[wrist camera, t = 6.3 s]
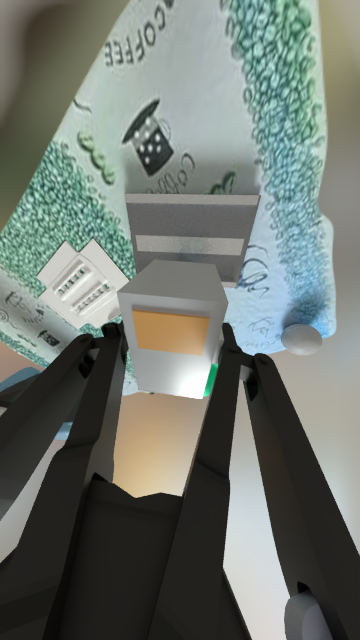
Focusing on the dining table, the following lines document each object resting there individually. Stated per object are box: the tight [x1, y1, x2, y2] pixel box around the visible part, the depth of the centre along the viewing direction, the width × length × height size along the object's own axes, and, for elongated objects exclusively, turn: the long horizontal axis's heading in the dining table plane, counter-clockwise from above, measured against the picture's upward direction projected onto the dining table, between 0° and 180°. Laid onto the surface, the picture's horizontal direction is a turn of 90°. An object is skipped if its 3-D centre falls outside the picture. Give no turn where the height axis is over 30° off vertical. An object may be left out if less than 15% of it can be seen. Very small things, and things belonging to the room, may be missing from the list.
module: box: [116, 260, 228, 399], centre depth 14 cm, size 6×10×8 cm, turn 177°
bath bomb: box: [281, 324, 322, 355], centre depth 36 cm, size 8×8×8 cm
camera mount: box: [203, 363, 218, 396], centre depth 47 cm, size 12×8×10 cm, turn 116°
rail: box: [125, 193, 261, 288], centre depth 29 cm, size 24×16×3 cm, turn 89°
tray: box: [36, 238, 129, 329], centre depth 39 cm, size 20×28×4 cm
